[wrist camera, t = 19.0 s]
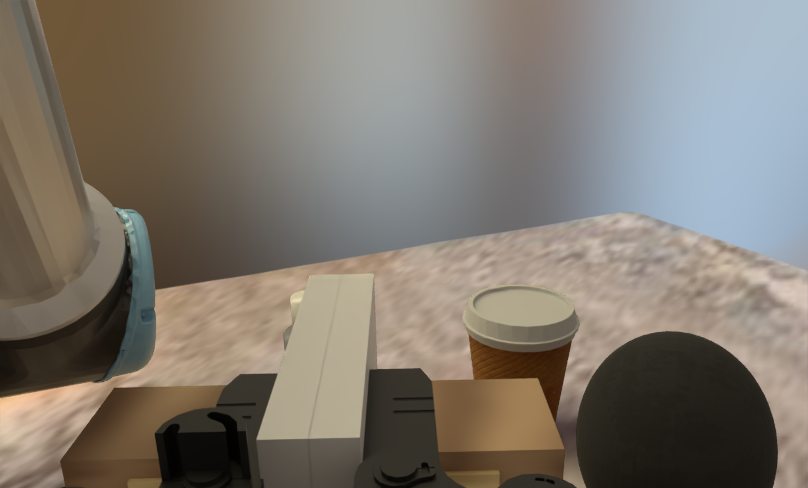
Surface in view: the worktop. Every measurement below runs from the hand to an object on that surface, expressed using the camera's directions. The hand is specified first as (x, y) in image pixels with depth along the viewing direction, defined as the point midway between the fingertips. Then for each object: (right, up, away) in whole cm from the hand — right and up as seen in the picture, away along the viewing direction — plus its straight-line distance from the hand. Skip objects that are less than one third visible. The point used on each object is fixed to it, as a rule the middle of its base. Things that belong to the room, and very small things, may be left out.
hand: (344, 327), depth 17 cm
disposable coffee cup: (+11, -14, +45) cm, 48 cm away
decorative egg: (+19, -18, +32) cm, 42 cm away
